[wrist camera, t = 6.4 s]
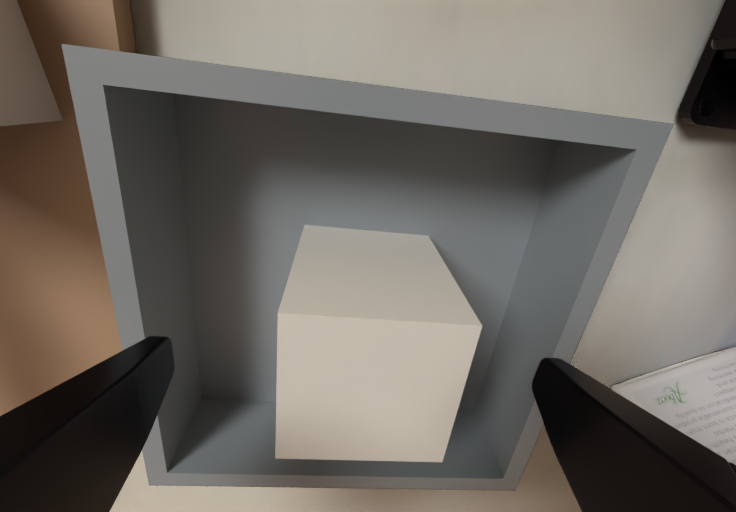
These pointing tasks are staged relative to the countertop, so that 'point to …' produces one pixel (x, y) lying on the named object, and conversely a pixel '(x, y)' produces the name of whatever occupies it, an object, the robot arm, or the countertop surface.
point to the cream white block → (22, 73)
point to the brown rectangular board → (54, 219)
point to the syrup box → (693, 399)
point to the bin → (352, 211)
